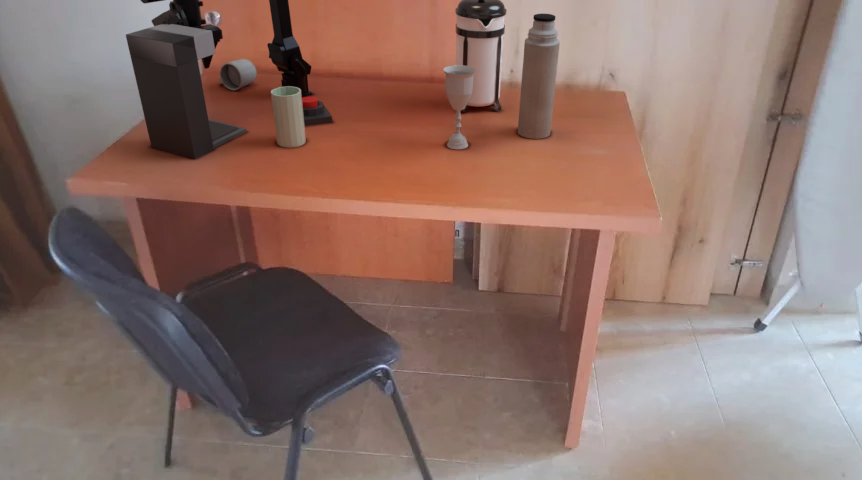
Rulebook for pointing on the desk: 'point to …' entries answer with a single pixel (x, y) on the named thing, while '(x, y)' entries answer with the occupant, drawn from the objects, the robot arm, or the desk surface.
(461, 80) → the chalice
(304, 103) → the button
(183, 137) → the coffee maker
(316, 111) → the button pad
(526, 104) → the thermos bottle
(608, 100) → the desk surface
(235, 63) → the ceramic mug
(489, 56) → the coffee press
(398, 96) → the desk surface
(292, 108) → the cup
